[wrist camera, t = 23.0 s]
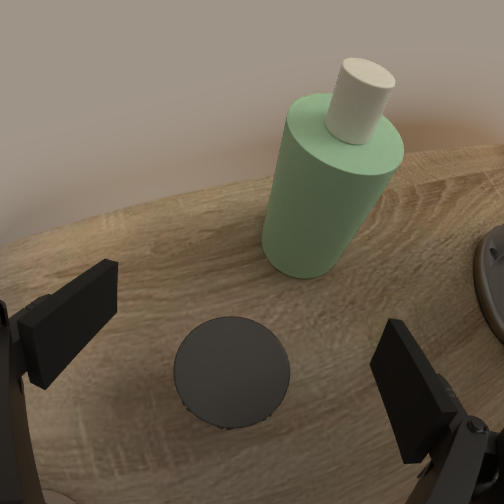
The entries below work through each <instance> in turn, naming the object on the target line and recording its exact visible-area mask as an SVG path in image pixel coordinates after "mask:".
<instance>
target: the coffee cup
mask: <svg viewBox="0 0 504 504" xmlns="http://www.w3.org/2000/svg"><path fill="white" fill-rule="evenodd" d="M42 493H43V496H44V500H45V503H46V504H77V503H75V502H74V501H73V500H71V499H70V498H68V497H66V496H65V495H63V494H60V493H58V492H55V491H51V490H42Z"/></svg>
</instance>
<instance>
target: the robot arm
mask: <svg viewBox="0 0 504 504" xmlns="http://www.w3.org/2000/svg"><path fill="white" fill-rule="evenodd" d="M474 277H475V284H476V290H477V294H478V298H479V301H480V304H481V307H482V310H483V312H484V314H485V317H486V319H487V321H488V323H489V325H490V326H491V328H492V330H493V331H494V333H495V334H496V335H497V337H498V338H499V339H500V340H501V341H502V342H503V343H504V224H503V225H500V226H497V227H495V228H494V229H493V230H491V231H490V232H489V233H488V234H487V235H486V236H485V237H484V238H483V239H482V240H481V241H480V243H479V245H478V247H477V250H476V254H475V259H474ZM117 282H118V262H116V261H112V260H108V259H104V260H102V261H101V262H99V263H98V264H96V265H95V266H93V267H92V268H90V269H89V270H87V271H86V272H84V273H83V274H81V275H80V276H78V277H77V278H75V279H74V280H72V281H71V282H69V283H68V284H66V285H65V286H64V287H62V288H61V289H59V290H58V291H56V292H55V293H53V294H52V295H50V294H48V295H45V296H42V297H39V298H37V299H36V300H34V301H33V302H31V304H29V305H27V306H26V307H25V309H24V308H23V309H21V310H20V311H19V312H17V313H16V314H14V315H13V316H12V317H10V318H9V319H8V314H7V308H6V303H5V302H3V301H2V300H0V504H46V503H45V500H44V496H43V493H42V489H41V485H40V481H39V477H38V473H37V469H36V464H35V460H34V455H33V450H32V445H31V439H30V433H29V427H28V420H27V412H26V404H25V395H24V384H23V380H22V375H23V374H24V373H25V372H26V371H27V372H28V376H29V380H30V383H32V384H34V385H36V386H38V387H40V388H42V389H44V390H46V389H47V388H48V387H49V386H50V384H51V383H52V382H53V381H54V380H55V379H56V378H57V377H58V375H59V374H60V373H61V372H62V371H63V370H64V369H65V368H66V367H67V365H68V364H69V363H70V362H71V361H72V360H73V359H74V358H75V357H76V355H77V354H78V353H79V352H80V351H81V350H82V349H83V348H84V347H85V346H86V345H87V344H88V342H89V341H90V340H91V339H92V338H93V337H94V336H95V335H96V334H97V333H98V332H99V331H100V330H101V329H102V328H103V326H104V325H105V324H106V323H107V322H108V321H109V320H110V319H111V318H112V317H113V316H114V315H115V314H116V313H117ZM370 367H371V370H372V372H373V375H374V378H375V381H376V383H377V386H378V389H379V392H380V394H381V397H382V400H383V403H384V406H385V409H386V411H387V414H388V417H389V420H390V423H391V426H392V429H393V432H394V435H395V438H396V441H397V444H398V447H399V450H400V454H401V457H402V460H403V463H404V464H414V463H421V462H422V460H423V459H424V458H425V457H426V456H427V454H428V453H429V455H430V457H431V461H430V462H429V464H428V465H427V466H426V467H425V468H424V469H423V471H422V472H421V473H420V474H419V475H418V476H417V478H420V479H419V481H418V483H417V484H416V486H415V488H414V489H413V491H412V493H411V495H410V496H409V498H408V499H407V501H406V503H405V504H504V428H503V430H502V431H501V432H500V433H497V432H491V431H489V429H488V427H487V425H486V424H485V423H484V422H483V421H482V420H481V419H479V418H477V417H475V416H468V415H467V413H466V411H465V409H464V408H463V406H462V404H461V403H460V401H459V399H458V398H457V397H456V394H455V393H454V391H453V390H452V388H451V386H450V384H449V383H448V381H447V380H446V379H445V378H443V377H442V376H441V375H440V374H436V372H435V371H434V369H433V367H432V366H431V364H430V363H429V361H428V359H427V358H426V356H425V355H424V353H423V351H422V350H421V348H420V347H419V345H418V344H417V342H416V340H415V339H414V337H413V336H412V334H411V333H410V331H409V330H408V328H407V327H406V325H405V324H404V322H403V321H402V320H398V319H392V318H389V319H388V321H387V324H386V326H385V329H384V331H383V334H382V336H381V339H380V341H379V343H378V346H377V348H376V351H375V353H374V355H373V357H372V360H371V362H370ZM497 476H498V478H497V480H496V477H497Z"/></svg>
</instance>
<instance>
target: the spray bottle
mask: <svg viewBox="0 0 504 504" xmlns="http://www.w3.org/2000/svg"><path fill="white" fill-rule="evenodd" d="M394 86H395V79H394V77H393V76H392V75H391V73H389V72H388V71H387V70H386V69H384V68H383V67H381V66H380V65H378V64H376V63H373V62H371V61H368V60H365V59H360V58H348V59H345V60H344V61H343V62H342V65H341V69H340V72H339V75H338V79H337V82H336V85H335V88H334V92H333V94H331V93H318V94H311V95H308V96H304V97H302V98H300V99H298V100H297V101H295V102H294V103H293V104H292V106H291V107H290V108H289V110H288V113H287V118H286V123H285V128H284V132H283V137H282V142H281V147H280V151H279V156H278V161H277V166H276V170H275V175H274V180H273V185H272V189H271V194H270V199H269V203H268V208H267V213H266V217H265V222H264V227H263V232H262V247H263V250H264V253H265V255H266V257H267V258H268V260H269V261H270V263H271V264H272V265H273V266H274V267H275V268H277V269H278V270H279V271H281V272H282V273H284V274H286V275H289V276H291V277H295V278H300V279H311V278H316V277H319V276H321V275H323V274H325V273H327V272H328V271H329V270H330V269H331V268H332V267H333V266H334V265H335V263H336V262H337V261H338V259H339V258H340V256H341V255H342V253H343V252H344V250H345V249H346V247H347V246H348V244H349V243H350V242H351V240H352V239H353V237H354V236H355V234H356V233H357V231H358V230H359V228H360V227H361V225H362V224H363V222H364V220H365V219H366V217H367V216H368V214H369V213H370V211H371V210H372V208H373V207H374V205H375V203H376V202H377V200H378V199H379V197H380V196H381V194H382V192H383V191H384V189H385V188H386V186H387V184H388V183H389V181H390V180H391V178H392V176H393V175H394V173H395V171H396V170H397V168H398V167H399V165H400V163H401V161H402V159H403V155H404V147H403V142H402V140H401V137H400V135H399V133H398V131H397V130H396V129H395V127H394V126H393V125H392V124H391V123H390V121H389V120H388V119H387V118H385V117H384V116H383V115H382V113H383V111H384V109H385V107H386V105H387V102H388V100H389V98H390V96H391V93H392V91H393V89H394Z"/></svg>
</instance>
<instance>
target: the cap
mask: <svg viewBox="0 0 504 504" xmlns="http://www.w3.org/2000/svg"><path fill="white" fill-rule="evenodd" d="M289 380H290V366H289V361H288V357H287V354H286V352H285V349H284V348H283V346H282V344H281V342H280V341H279V340H278V338H277V337H276V336H275V335H274V334H273V333H272V332H271V331H270V330H268V329H267V328H266V327H264V326H263V325H261V324H259V323H257V322H255V321H253V320H250V319H247V318H242V317H233V316H230V317H220V318H216V319H212V320H209V321H207V322H205V323H203V324H201V325H199V326H198V327H196V328H195V329H194V330H193V331H191V332H190V333H189V335H188V336H187V337H186V338H185V339H184V341H183V342H182V344H181V345H180V347H179V349H178V352H177V354H176V358H175V362H174V381H175V386H176V389H177V392H178V394H179V396H180V398H181V400H182V403H183V405H185V406H186V407H187V410H188V411H190V412H191V413H193V414H194V415H195V416H197V417H198V418H200V419H201V420H203V421H205V422H207V423H209V424H211V425H214V426H216V427H218V428H220V429H223V428H226V429H227V430H230V429H234V428H243V427H248V426H251V425H254V424H256V423H258V422H260V421H264V420H266V418H267V417H268V416H271V415H272V413H273V412H274V411H275V410H276V409H277V408H278V406H279V405H280V404H281V402H282V401H283V399H284V397H285V395H286V392H287V389H288V386H289Z"/></svg>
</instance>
